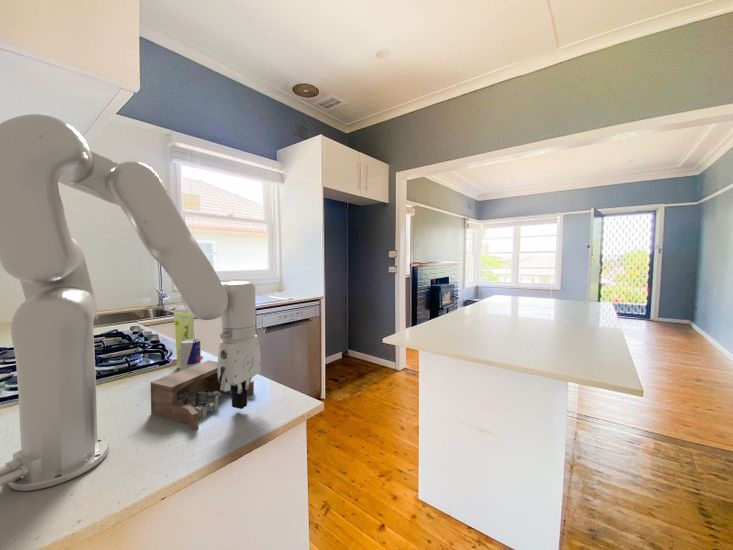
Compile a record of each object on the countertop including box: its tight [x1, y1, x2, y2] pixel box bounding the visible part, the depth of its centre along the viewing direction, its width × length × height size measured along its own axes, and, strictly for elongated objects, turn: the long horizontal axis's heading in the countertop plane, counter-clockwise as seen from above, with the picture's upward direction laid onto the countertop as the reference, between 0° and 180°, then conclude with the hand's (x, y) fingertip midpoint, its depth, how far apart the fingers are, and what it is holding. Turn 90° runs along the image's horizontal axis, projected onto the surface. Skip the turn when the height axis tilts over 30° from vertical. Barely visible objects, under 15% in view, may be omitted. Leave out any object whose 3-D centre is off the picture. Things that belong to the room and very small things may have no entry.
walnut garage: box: [150, 360, 255, 431], centre depth 76 cm, size 19×16×8 cm
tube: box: [172, 309, 195, 369], centre depth 101 cm, size 6×5×20 cm
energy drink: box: [179, 338, 202, 371], centre depth 91 cm, size 5×5×12 cm
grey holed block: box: [177, 390, 222, 418], centre depth 74 cm, size 11×8×4 cm
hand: (239, 406), depth 73 cm, fingers closed
